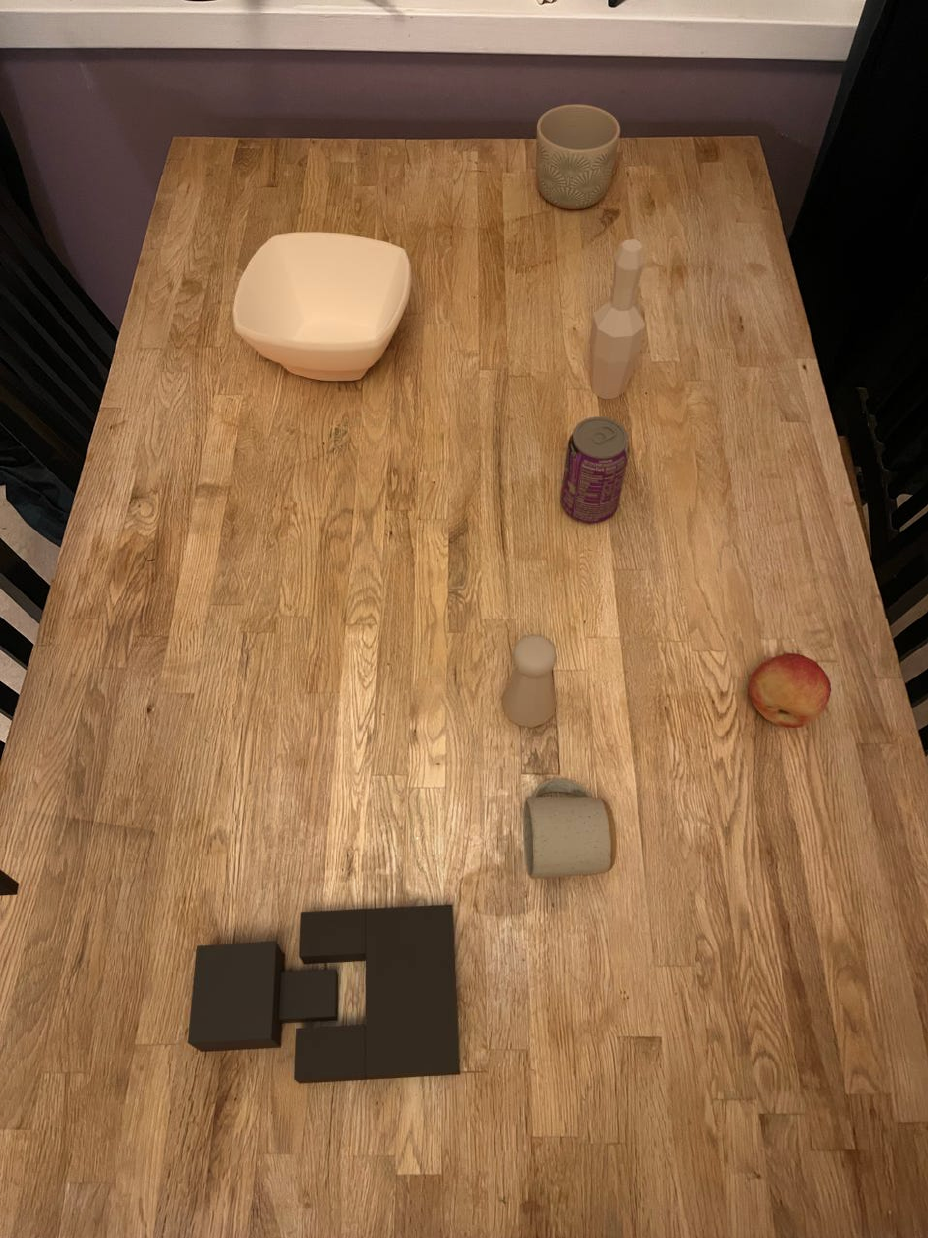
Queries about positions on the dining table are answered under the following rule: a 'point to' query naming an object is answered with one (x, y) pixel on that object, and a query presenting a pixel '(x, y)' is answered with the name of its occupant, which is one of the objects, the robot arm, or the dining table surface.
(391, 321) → the bowl
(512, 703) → the salt shaker
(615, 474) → the beverage can
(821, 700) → the fruit
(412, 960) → the dark u-shaped block
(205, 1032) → the tab pad
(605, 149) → the planter
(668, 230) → the dining table surface
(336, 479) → the dining table surface
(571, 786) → the ceramic mug
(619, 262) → the low poly bottle
